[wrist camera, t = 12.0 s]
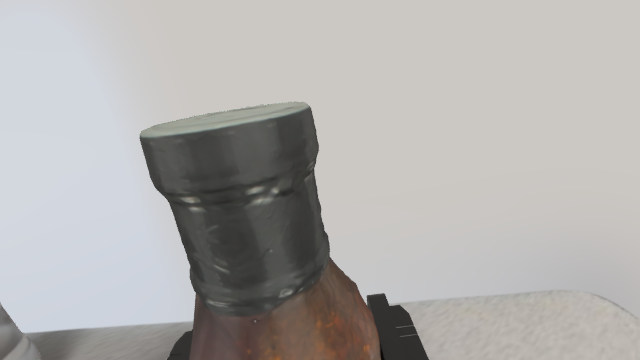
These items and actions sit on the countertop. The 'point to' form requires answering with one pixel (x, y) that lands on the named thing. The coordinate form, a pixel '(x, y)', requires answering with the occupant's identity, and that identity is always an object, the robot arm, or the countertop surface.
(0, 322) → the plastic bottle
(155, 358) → the countertop surface
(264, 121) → the sauce bottle
